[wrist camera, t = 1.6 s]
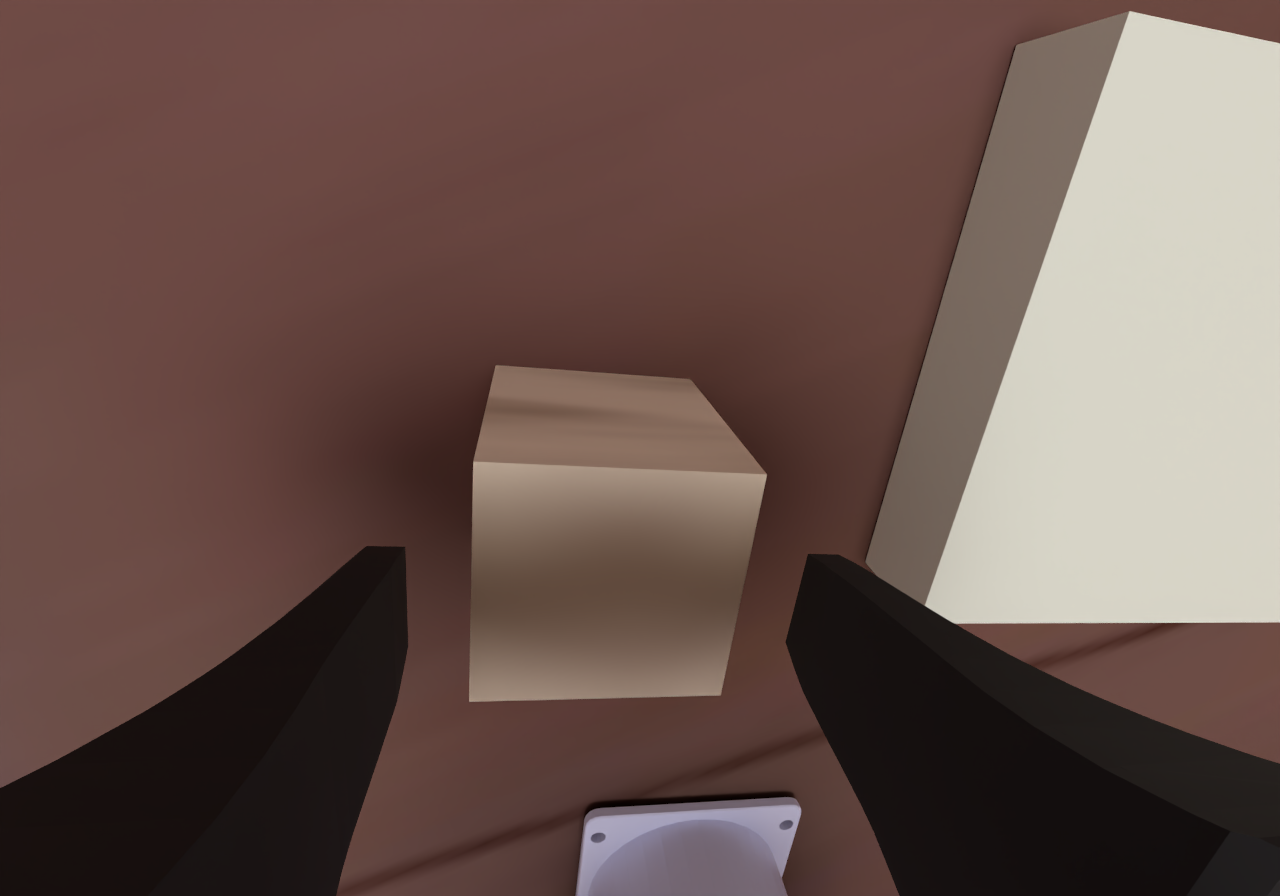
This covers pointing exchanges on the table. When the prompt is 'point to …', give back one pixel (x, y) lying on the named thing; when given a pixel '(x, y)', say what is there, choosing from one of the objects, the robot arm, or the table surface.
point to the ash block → (606, 538)
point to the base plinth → (1106, 346)
